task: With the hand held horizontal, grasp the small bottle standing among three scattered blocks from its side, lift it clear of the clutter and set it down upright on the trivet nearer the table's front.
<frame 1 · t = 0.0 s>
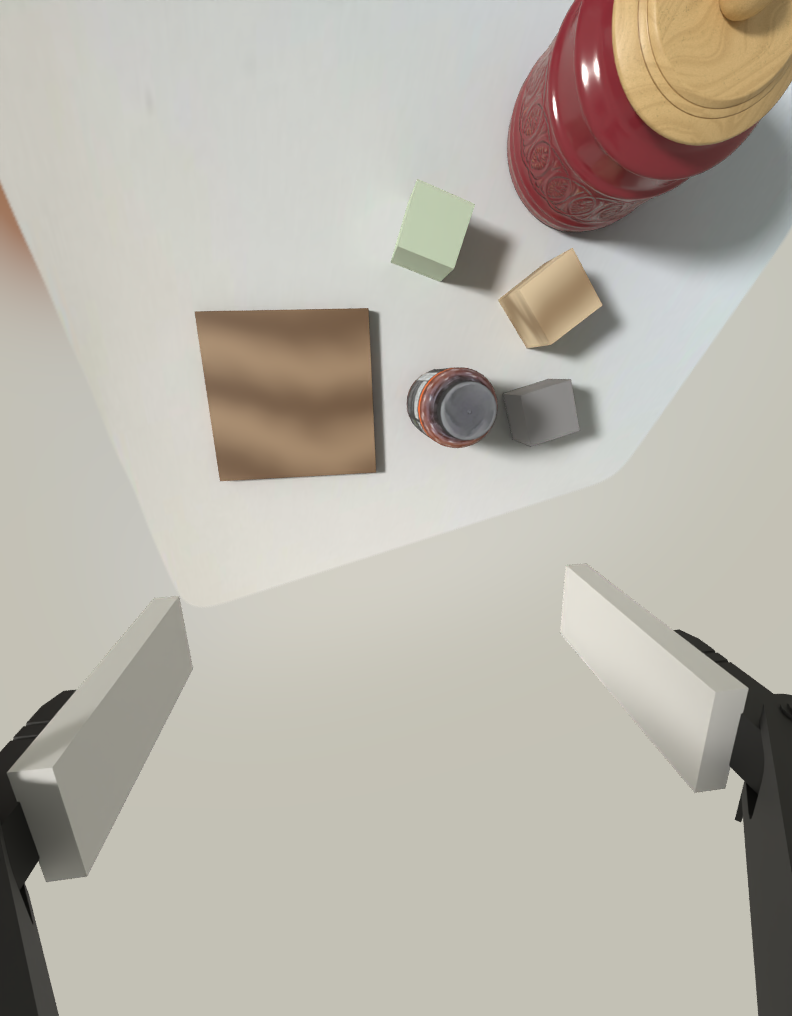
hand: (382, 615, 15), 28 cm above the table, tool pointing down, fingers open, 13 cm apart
grey block: (529, 409, 42), on the table
beech block: (535, 306, 40), on the table
supplement bottle: (436, 402, 41), on the table
sage block: (424, 244, 37), on the table
canister: (577, 148, 37), on the table
trivet: (292, 397, 40), on the table
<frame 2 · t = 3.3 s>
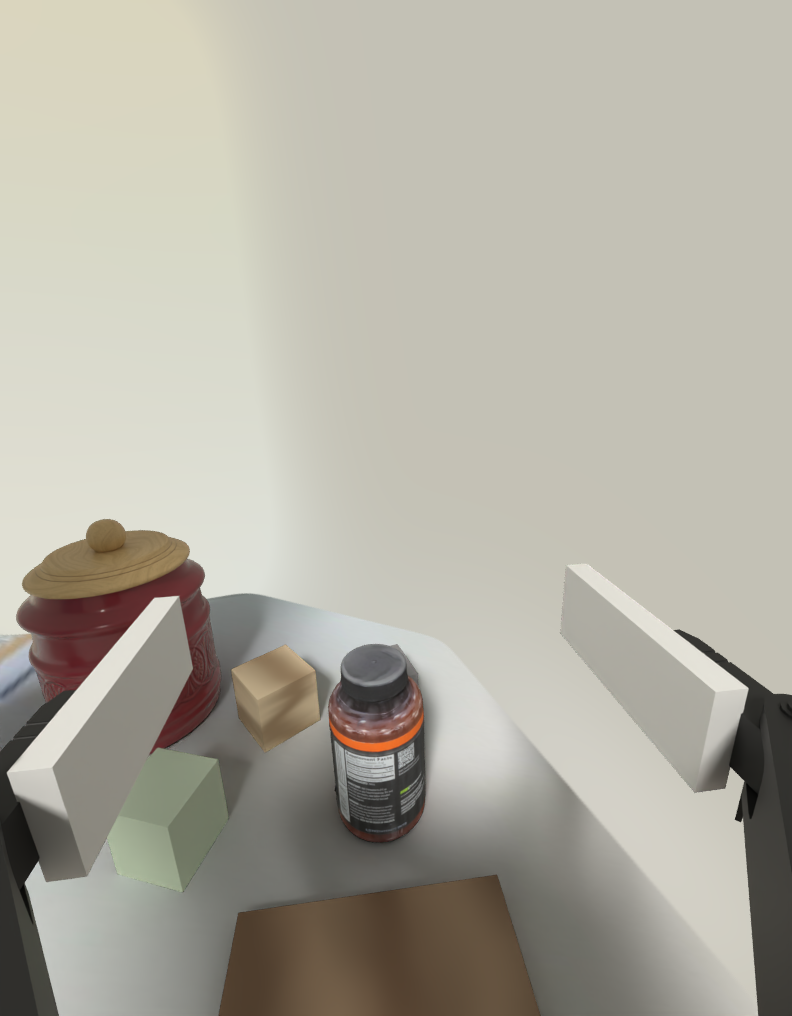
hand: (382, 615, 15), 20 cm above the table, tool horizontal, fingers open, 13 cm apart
beech block: (279, 719, 38), on the table
supplement bottle: (381, 806, 30), on the table
sage block: (176, 845, 28), on the table
canister: (146, 710, 40), on the table
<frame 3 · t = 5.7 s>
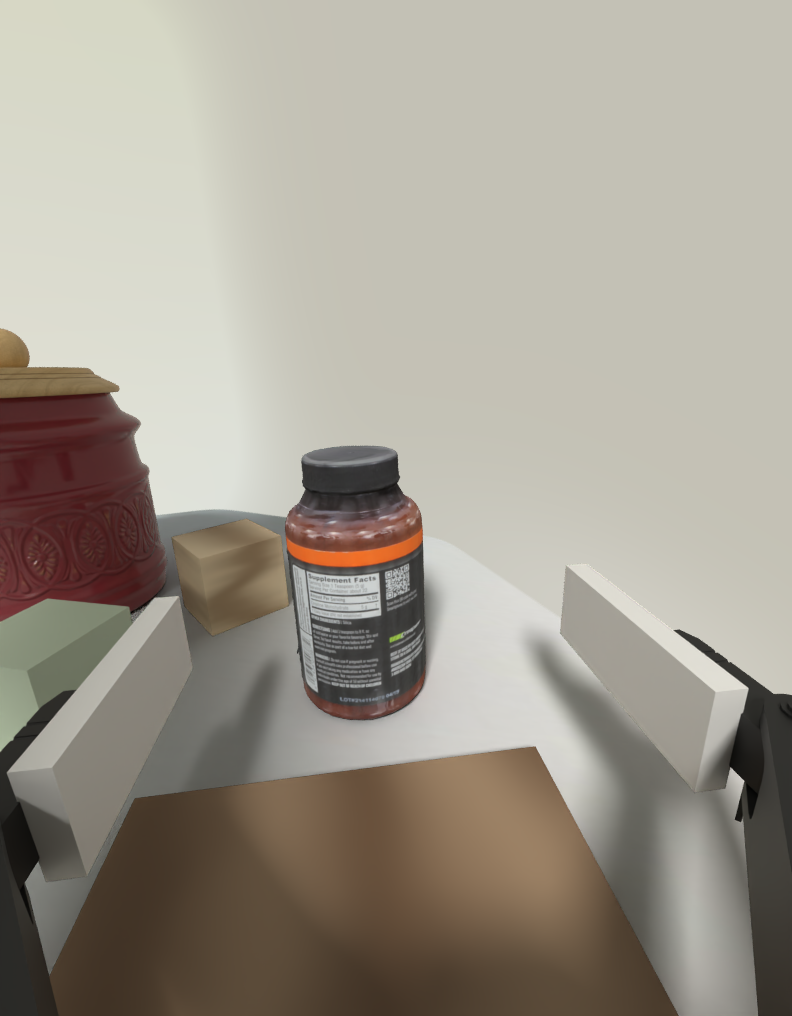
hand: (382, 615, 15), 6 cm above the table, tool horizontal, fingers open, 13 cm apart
beech block: (236, 607, 30), on the table
supplement bottle: (365, 685, 22), on the table
sage block: (68, 730, 19), on the table
canister: (68, 602, 31), on the table
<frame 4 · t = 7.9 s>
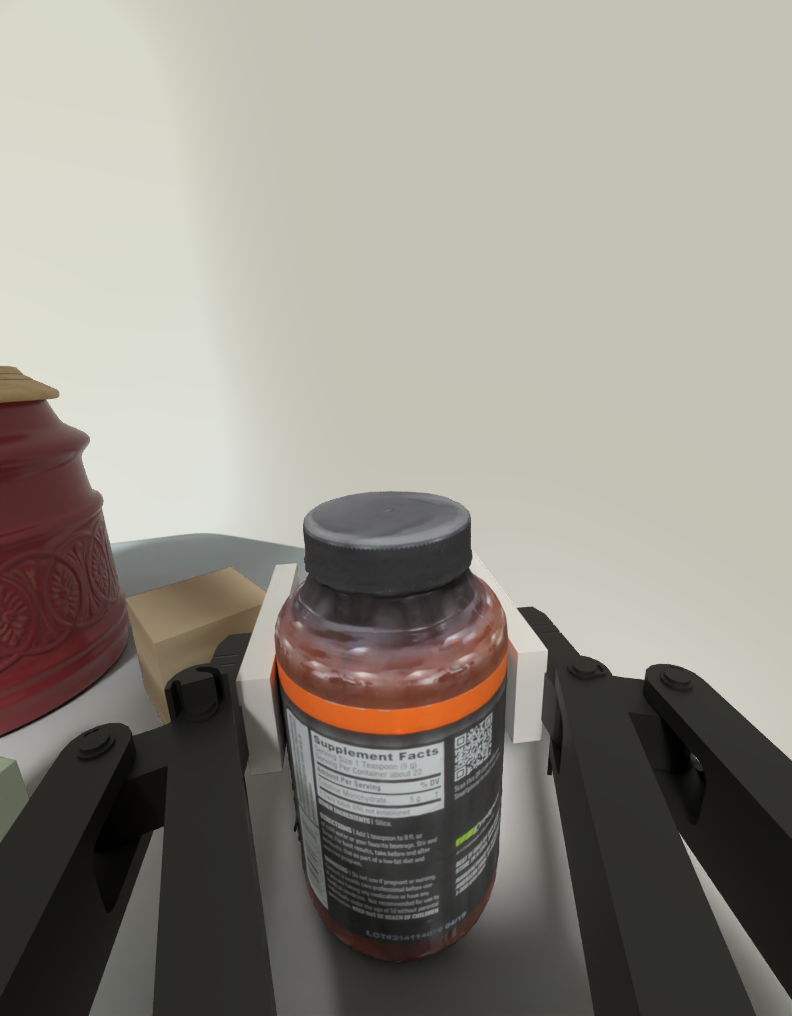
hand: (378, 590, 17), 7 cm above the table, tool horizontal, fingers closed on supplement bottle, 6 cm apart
beech block: (214, 690, 22), on the table
supplement bottle: (400, 859, 14), on the table, touching gripper
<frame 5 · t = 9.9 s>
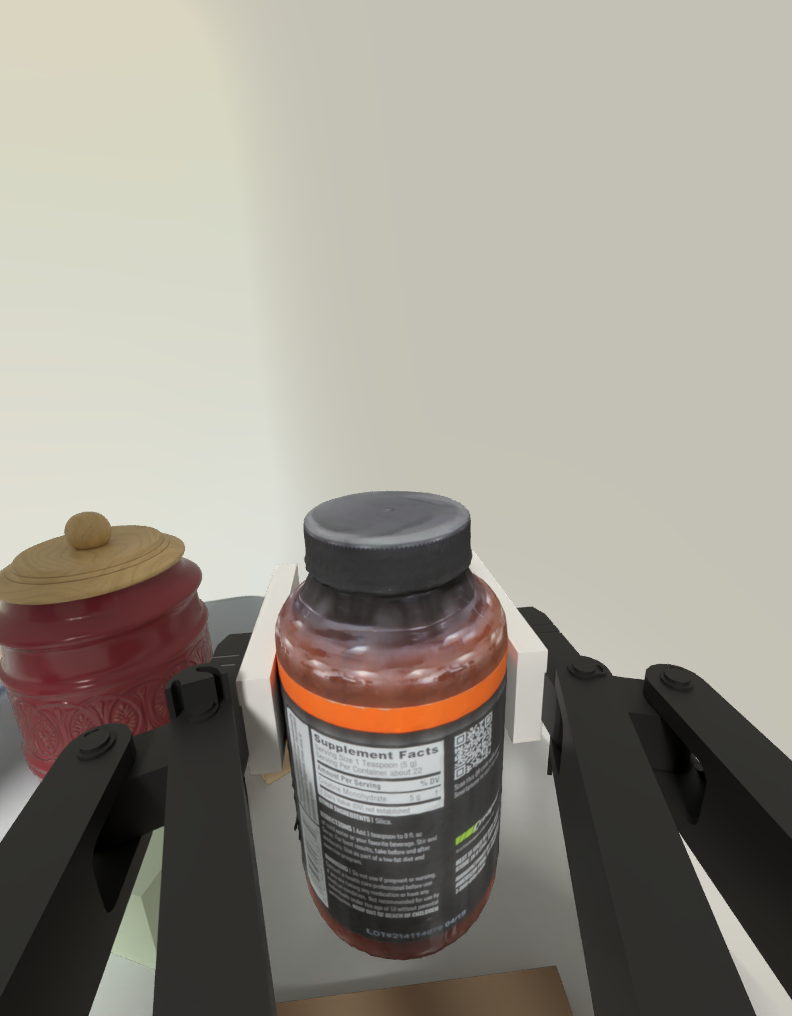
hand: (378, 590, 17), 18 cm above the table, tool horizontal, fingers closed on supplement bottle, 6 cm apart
beech block: (285, 744, 33), on the table
supplement bottle: (400, 857, 14), point 11 cm above the table, touching gripper
sage block: (158, 905, 23), on the table
canister: (136, 729, 35), on the table
when the fingers open (9 cm above the table, at t = 12.2 s): supplement bottle drops 1 cm, resting on trivet.
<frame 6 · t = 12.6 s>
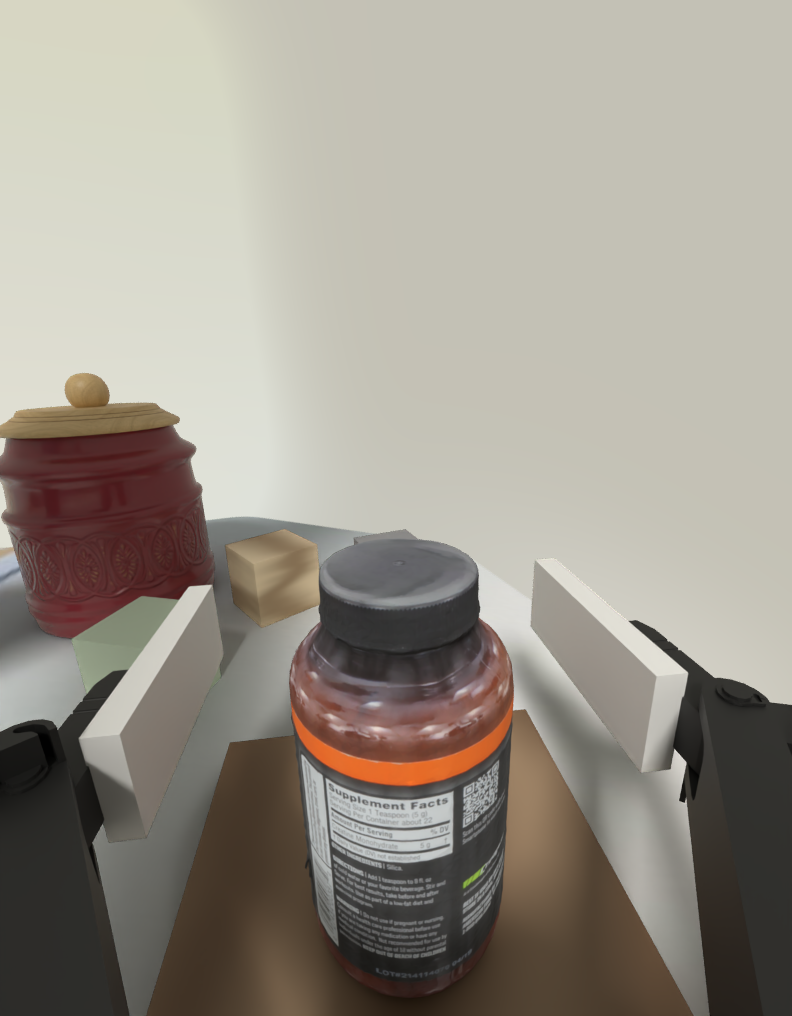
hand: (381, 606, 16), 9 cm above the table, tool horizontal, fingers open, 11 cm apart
grey block: (391, 594, 36), on the table
beech block: (277, 604, 35), on the table
supplement bottle: (406, 891, 14), point 1 cm above the table, touching trivet
sage block: (161, 698, 25), on the table
canister: (134, 600, 37), on the table
trivet: (402, 909, 15), on the table
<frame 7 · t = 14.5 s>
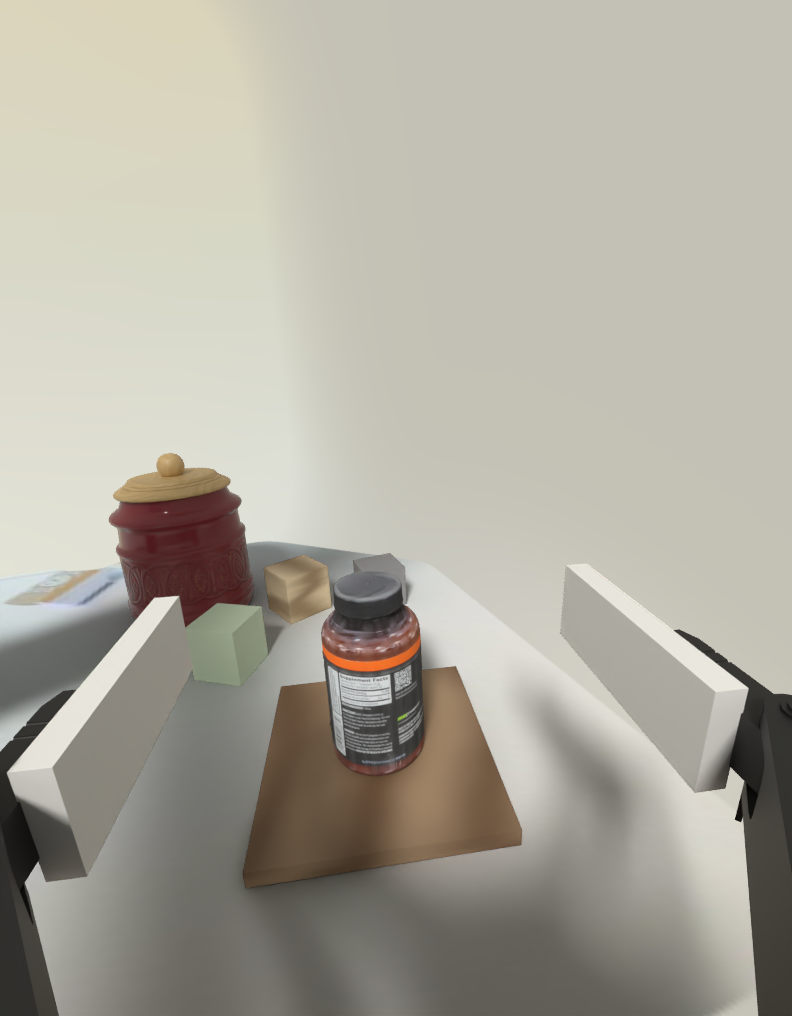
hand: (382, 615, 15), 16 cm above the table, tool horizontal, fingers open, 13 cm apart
grey block: (380, 600, 51), on the table
beech block: (300, 608, 50), on the table
supplement bottle: (379, 745, 29), point 1 cm above the table, touching trivet
sage block: (232, 667, 40), on the table
canister: (197, 607, 51), on the table
trivet: (377, 755, 29), on the table
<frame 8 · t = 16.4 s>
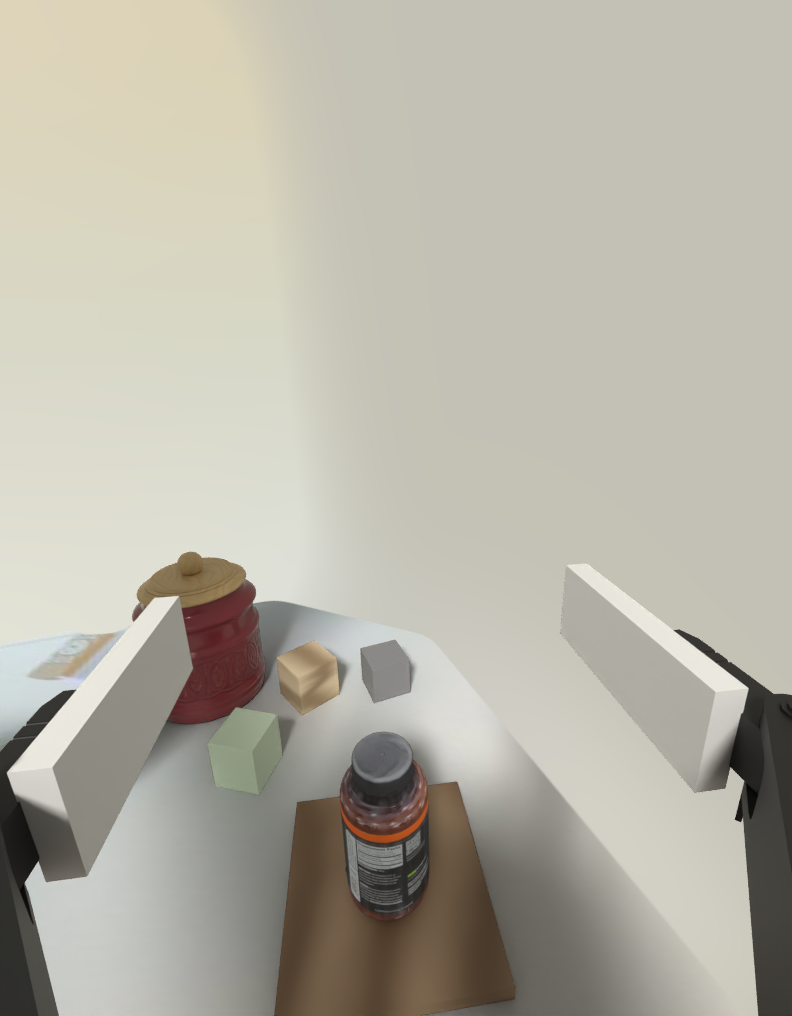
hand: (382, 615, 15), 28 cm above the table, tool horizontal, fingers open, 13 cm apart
grey block: (385, 686, 54), on the table
beech block: (310, 694, 53), on the table
supplement bottle: (388, 880, 32), point 1 cm above the table, touching trivet
sage block: (250, 770, 43), on the table
canister: (212, 688, 54), on the table
trivet: (386, 887, 33), on the table
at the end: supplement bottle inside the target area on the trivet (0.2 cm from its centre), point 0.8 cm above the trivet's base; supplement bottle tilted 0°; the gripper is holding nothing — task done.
